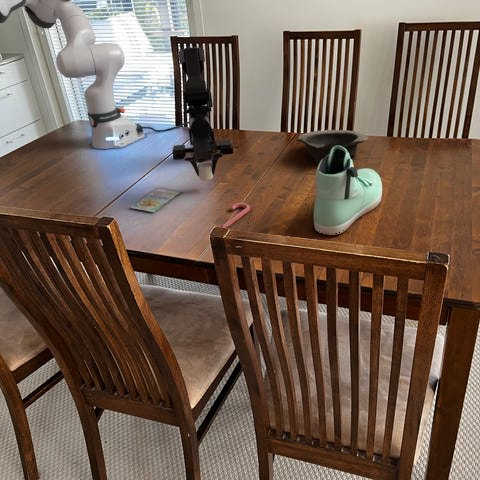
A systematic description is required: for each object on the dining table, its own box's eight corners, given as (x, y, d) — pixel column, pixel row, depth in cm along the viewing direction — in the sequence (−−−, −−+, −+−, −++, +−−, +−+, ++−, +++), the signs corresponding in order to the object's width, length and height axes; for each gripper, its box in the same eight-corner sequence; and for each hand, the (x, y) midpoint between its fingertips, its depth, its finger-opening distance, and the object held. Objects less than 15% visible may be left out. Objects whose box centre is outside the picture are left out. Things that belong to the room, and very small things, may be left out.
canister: (215, 178, 154) (213, 165, 151) (202, 181, 152) (201, 169, 150) (209, 173, 157) (208, 161, 155) (197, 177, 155) (195, 164, 153)
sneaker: (389, 187, 148) (396, 123, 138) (356, 242, 123) (361, 168, 112) (346, 181, 154) (350, 119, 144) (306, 232, 129) (307, 161, 118)
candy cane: (207, 226, 136) (206, 221, 135) (237, 204, 146) (237, 200, 145) (224, 231, 132) (223, 227, 132) (254, 208, 143) (253, 204, 142)
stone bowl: (325, 174, 159) (324, 147, 155) (285, 157, 179) (283, 133, 175) (382, 156, 168) (383, 130, 164) (338, 142, 188) (338, 118, 184)
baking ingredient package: (130, 206, 148) (157, 187, 159) (130, 208, 148) (157, 189, 160) (153, 211, 144) (180, 191, 156) (153, 212, 145) (180, 192, 156)
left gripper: (-72, 44, 148) (-55, 89, 156) (-4, 34, 159) (9, 77, 166) (-76, 43, 153) (-59, 87, 160) (-10, 33, 163) (4, 74, 170)
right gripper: (169, 139, 138) (176, 188, 147) (233, 133, 140) (237, 182, 148) (169, 127, 148) (176, 174, 156) (229, 121, 149) (233, 168, 157)
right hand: (205, 175), depth 154 cm, fingers closed on canister, 4 cm apart
